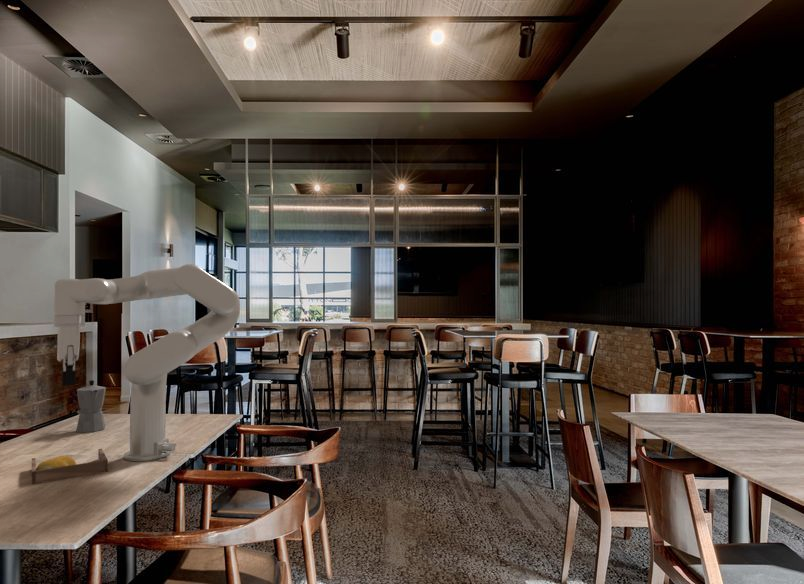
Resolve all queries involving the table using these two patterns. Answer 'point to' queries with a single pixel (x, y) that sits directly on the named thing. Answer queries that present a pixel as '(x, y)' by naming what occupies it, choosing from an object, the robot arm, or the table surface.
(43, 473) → the walnut open-ended frame
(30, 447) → the table surface
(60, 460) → the bread roll
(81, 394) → the coffeepot
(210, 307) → the robot arm
